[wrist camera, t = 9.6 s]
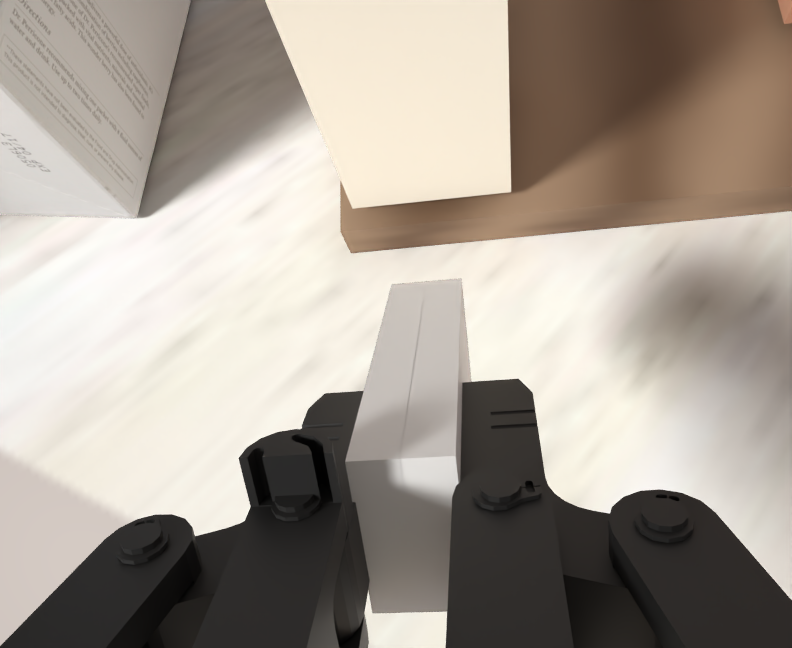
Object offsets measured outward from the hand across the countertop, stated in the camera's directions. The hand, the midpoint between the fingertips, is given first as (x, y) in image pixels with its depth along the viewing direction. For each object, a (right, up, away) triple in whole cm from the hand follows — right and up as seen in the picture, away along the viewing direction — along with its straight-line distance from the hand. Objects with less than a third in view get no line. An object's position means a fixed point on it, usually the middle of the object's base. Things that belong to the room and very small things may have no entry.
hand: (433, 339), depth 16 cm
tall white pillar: (0, +7, +8) cm, 10 cm away
